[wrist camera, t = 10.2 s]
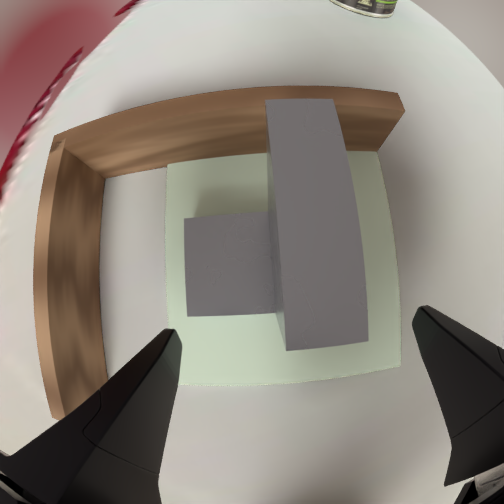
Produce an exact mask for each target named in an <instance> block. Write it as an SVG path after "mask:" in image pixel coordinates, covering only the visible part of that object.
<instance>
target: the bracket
mask: <svg viewBox="0 0 504 504" xmlns="http://www.w3.org/2000/svg"><path fill="white" fill-rule="evenodd" d="M265 114H266V144H267V181H268V211H265V212H251V213H238V214H226V215H215V216H204V217H194V218H184V260H185V287H186V306H187V317H202V316H232V315H252V314H269V313H275V314H276V318H277V321H278V325H279V328H280V332H281V335H282V339H283V342H284V346H285V349H286V351H295V350H306V349H315V348H324V347H333V346H340V345H348V344H355V343H361V342H367V341H369V334H368V306H367V290H366V277H365V266H364V256H363V247H362V238H361V231H360V223H359V217H358V210H357V204H356V198H355V192H354V186H353V181H352V176H351V171H350V166H349V161H348V157H347V152H346V148H345V143H344V139H343V135H342V131H341V127H340V123H339V119H338V115H337V112H336V108H335V105H334V101H333V99H272V100H265Z"/></svg>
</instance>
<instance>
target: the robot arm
mask: <svg viewBox="0 0 504 504" xmlns="http://www.w3.org/2000/svg"><path fill="white" fill-rule="evenodd" d="M412 327H413V331H414V334H415V337H416V340H417V343H418V347H419V350H420V353H421V356H422V359H423V362H424V364H425V367H426V369H427V372H428V374H429V377H430V379H431V382H432V385H433V387H434V390H435V393H436V396H437V398H438V401H439V404H440V407H441V410H442V413H443V416H444V419H445V423H446V426H447V429H448V433H449V436H450V439H451V445H452V450H451V456H450V461H449V465H448V470H447V474H446V478H445V482H444V486H448V485H451V484H454V483H457V482H460V481H463V480H466V479H469V478H471V477H474V479H472V480H471V481H469V482H467V483H465V484H464V486H463V488H462V490H461V492H460V494H459V496H458V497H457V499H456V501H455V503H454V504H504V349H502V348H501V347H499V346H496V345H495V344H494V343H492V342H490V341H489V340H487V339H485V338H484V337H482V336H480V335H479V334H477V333H475V332H474V331H472V330H470V329H469V328H467V327H465V326H463V325H462V324H460V323H458V322H457V321H455V320H453V319H451V318H450V317H448V316H446V315H444V314H443V313H441V312H439V311H437V310H436V309H434V308H432V307H430V306H428V305H425V306H421V307H419V308H418V309H417V312H416V314H415V316H414V318H413V321H412ZM181 356H182V342H181V340H180V338H179V335H178V333H177V331H176V330H175V329H164V330H163V331H161V332H160V333H159V334H158V335H157V336H156V337H155V338H154V339H153V340H152V341H151V342H149V343H148V344H147V345H146V346H145V347H144V348H143V349H142V350H141V351H140V352H139V353H137V354H136V355H135V356H134V357H133V358H132V359H131V360H130V361H129V362H128V363H126V364H125V365H124V366H123V367H122V368H121V369H120V370H119V371H118V372H117V373H116V374H114V375H113V376H112V377H111V378H110V379H109V380H108V381H107V382H106V383H105V384H104V385H102V386H101V387H100V389H98V390H97V391H95V392H94V393H93V394H92V395H91V396H90V397H89V398H88V399H86V400H85V401H84V402H83V403H82V404H81V405H79V406H78V407H77V408H76V409H74V410H73V411H72V412H70V413H69V414H68V415H66V416H65V417H64V418H62V419H61V420H60V421H58V422H57V423H56V424H54V425H53V426H52V427H50V428H49V429H47V430H46V431H45V432H43V433H42V434H41V435H39V436H38V437H37V438H35V439H34V440H32V441H31V442H30V443H28V444H27V445H26V446H24V447H23V448H21V449H20V450H19V451H17V452H16V453H14V454H13V455H11V456H10V455H8V454H6V453H5V452H3V451H1V450H0V504H162V502H161V498H160V493H159V487H158V479H159V473H160V467H161V462H162V457H163V452H164V447H165V442H166V437H167V432H168V428H169V423H170V418H171V414H172V409H173V405H174V400H175V396H176V392H177V387H178V382H179V375H180V365H181Z"/></svg>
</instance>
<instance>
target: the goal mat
mask: <svg viewBox="0 0 504 504" xmlns="http://www.w3.org/2000/svg"><path fill="white" fill-rule="evenodd" d="M346 152H347V157H348V161H349V166H350V171H351V176H352V181H353V186H354V192H355V198H356V204H357V210H358V217H359V223H360V231H361V238H362V247H363V256H364V266H365V277H366V290H367V306H368V334H369V341H367V342H361V343H355V344H348V345H340V346H333V347H324V348H315V349H306V350H295V351H286V349H285V346H284V342H283V339H282V335H281V332H280V328H279V325H278V321H277V318H276V314H275V313H269V314H252V315H232V316H202V317H187V306H186V287H185V260H184V218H194V217H204V216H215V215H226V214H238V213H251V212H265V211H268V181H267V153H259V154H246V155H235V156H225V157H216V158H208V159H200V160H192V161H185V162H178V163H172V164H168V165H167V182H166V208H165V271H166V297H167V315H168V329H175V330H176V331H177V333H178V335H179V338H180V340H181V342H182V356H181V365H180V375H179V382H178V385H199V386H253V385H274V384H288V383H300V382H310V381H319V380H327V379H334V378H341V377H347V376H354V375H359V374H365V373H370V372H376V371H380V370H385V369H390V368H394V367H399V366H400V362H401V311H400V291H399V278H398V267H397V257H396V248H395V241H394V234H393V227H392V220H391V214H390V209H389V203H388V198H387V193H386V188H385V183H384V179H383V174H382V170H381V166H380V162H379V158H378V154H377V152H373V151H346Z"/></svg>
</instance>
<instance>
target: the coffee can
mask: <svg viewBox="0 0 504 504" xmlns="http://www.w3.org/2000/svg"><path fill="white" fill-rule="evenodd" d="M330 1H331V2H333V3H335V4H336V5H339V6H341V7H343V8H345V9H348V10H350V11H353V12H356V13H359V14H363V15H367V16H372V17H378V18H387V17H391V16H392V15H393V11H394V9H395V6H396V3H397V0H330Z"/></svg>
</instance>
